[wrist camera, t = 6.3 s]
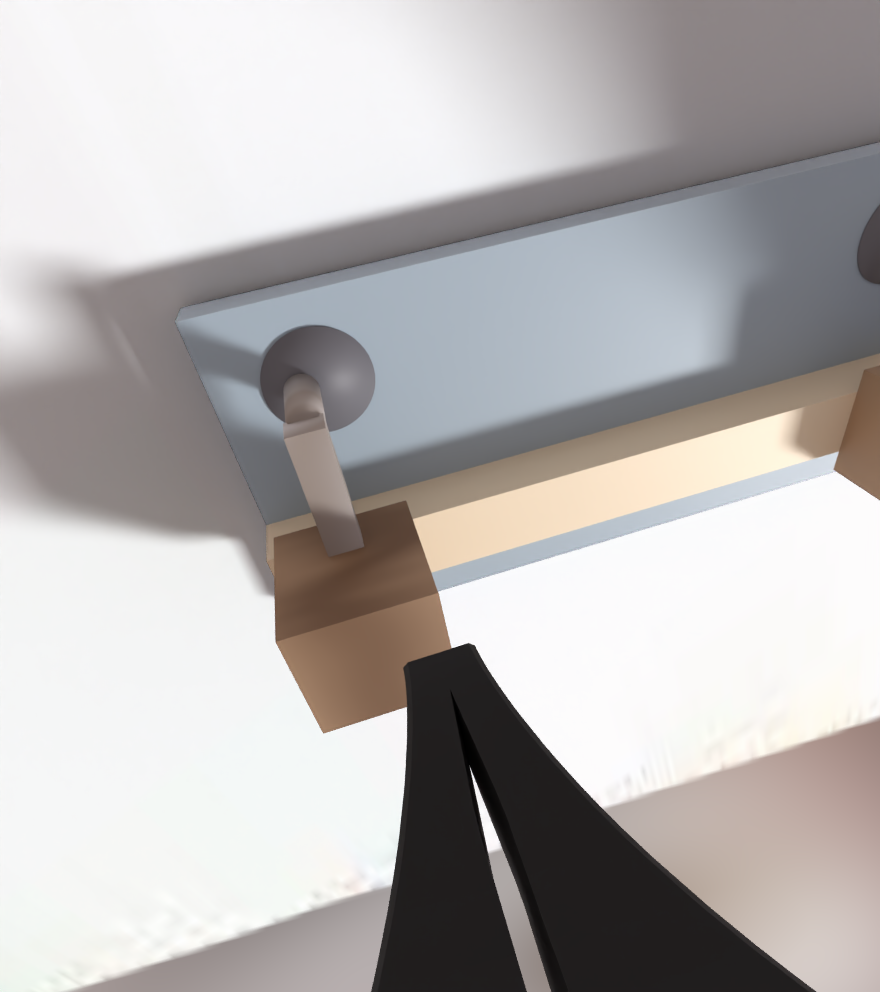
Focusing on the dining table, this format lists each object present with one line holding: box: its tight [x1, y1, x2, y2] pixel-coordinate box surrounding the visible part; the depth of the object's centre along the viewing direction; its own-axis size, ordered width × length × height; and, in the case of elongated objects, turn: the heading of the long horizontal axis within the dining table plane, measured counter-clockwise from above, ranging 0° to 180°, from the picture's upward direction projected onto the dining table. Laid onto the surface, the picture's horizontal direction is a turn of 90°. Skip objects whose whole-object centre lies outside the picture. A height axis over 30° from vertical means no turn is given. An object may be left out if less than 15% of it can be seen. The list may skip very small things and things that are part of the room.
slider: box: [274, 374, 451, 733], centre depth 16 cm, size 4×8×6 cm, turn 8°
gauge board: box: [175, 142, 880, 591], centre depth 18 cm, size 24×12×5 cm, turn 98°
